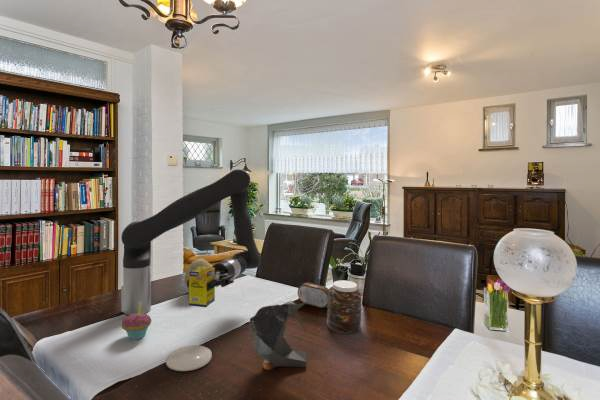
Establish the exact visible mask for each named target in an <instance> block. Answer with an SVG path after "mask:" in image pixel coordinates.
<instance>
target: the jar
mask: <svg viewBox="0 0 600 400" xmlns="http://www.w3.org/2000/svg"><path fill="white" fill-rule="evenodd" d="M328 289H329V291H328V306H327V307H326V308H327V310H326V313H327V314H326V316H327V317H326V326H327V328H328V329H329V330H330V331H332V332H334V333H338V334H342V335H352V334H356V333H359V332H360V331H361V329H362V325H361V324H362V301H363V300H362V299H363V297H362V291H361V289H359V288H358V284H357V283H356V282H354V281H351V280H345V279H344V280H343V279H342V280H335V281H334V282H333V283H332V286H330V287H329V288H328Z"/></svg>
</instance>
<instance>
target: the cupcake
mask: <svg viewBox="0 0 600 400" xmlns="http://www.w3.org/2000/svg"><path fill="white" fill-rule="evenodd" d="M141 301H142V300H141ZM141 306H142V302H140V304H139V312H138V313H135V314H131V315H127V316H126V317H124V318H123V320H122V322H121V323H120V327H121V329H123V330H124V331H126V334H127V336H128V339H130V340H135V341H136V340H140V339H142V338H144V337H146V335H147V331H148V328H149V327H150V325H151V323H152V319H151V316H150V315H148V314H147V313H141Z"/></svg>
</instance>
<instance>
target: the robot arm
mask: <svg viewBox="0 0 600 400" xmlns="http://www.w3.org/2000/svg"><path fill="white" fill-rule="evenodd" d="M250 184H251V176H250V174H249V173H248V172H247V171H246V170H244V169H240V168H236V169H233V170H231V171H230V172H228V173H227V174H225V175H224V176H222V177H221V178H218V180H216V181H215V182H213V183H211V184H209V185H206V186H203V187H201V188H198V189H196V190H194V191H192V192H189V193H188V194H186V195H184V196H181V197H180V198H177V199H176V200H175V201H173V202H172V203H170V204H168V205H167V206H166V207H164V208H162V210H161V211H159V212H157V213H156V214H154V215H151V216H150V217H148V218H146V219H143V220H140V221H133V222H130V223H129V224H128V225H127V226H126V227H124V229H123V230H122V232H121V242H122V245H123V258H122V276H123V278H122V279H123V280H122V281H123V283H122V284H123V285H121V287H120V290H121V291H120V295H121V297H120V298H121V301H120V303H121V312H122V313H124V315H127V316H129V315H131V314H135V313H138V312H139V304H140V302H142V306H141V313H144V314H147V313H148V312H150V311H151V309H152V284H151V283H152V281H151V278H152V274H151V271H152V269H151V268H152V267H151V266H152V265H151V260H152V259H151V257H152V242H153V241H154V240H155V239H157V238H158V237H160V236H162V235H164V234H165V233H166V232H168V231H170V230H173V229H176V228H178V227H180V226H182V225H184V224H186V223H188V222H190V221H193V219H195V218H198V217H200V216H202V215H203V214H204V213H206V212H208V211H209V210H211V209H212V208H213V207H214V206H215V205H217V204H218V203H219V202H221V201H223V200H225V199H227V198H230V201H231V207H232V216H233V226H234V236H235V243H236V245H237V246H240V247H244V248H246V250H244V251H239V252H236V253H234V255H233V256H232V257H231V256H230V258H225V259H223V260H221V261H219V262H216V263H214V264H213V265H211V266H212V267H213V268H215V280H214V279H213V280H211V281H209V282H208V283H207V290H210V289H212V288H214V287H215V288H218V287H219V286H220V287H221V288H225V287H227V286H228V285H231V284H233V283H235V281H234V280H235V278H237V277H238V276H239V275H241V274H243V273H244V272H245V271H246V270H250V269H251V270H252V269H257V268H258V267H260V265H261V262H262V261H261V260H262V258H261V254H260V252H259V250H258V247H257V245H256V242H255V238H254V230H253V223H252V218H251V215H250V210H249V206H248V188H249V187H250ZM187 287H189V280H187V286H186V288H187ZM141 300H142V301H141Z"/></svg>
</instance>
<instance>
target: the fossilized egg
mask: <svg viewBox="0 0 600 400" xmlns="http://www.w3.org/2000/svg"><path fill="white" fill-rule="evenodd" d="M198 266H201V267H212V266H213V265H212V264H211V263H210V262H208V260H206V259H204V258H198V259H195V260H194V261H192V262H191V263H190V264H189V265H188V267H187V269H186V270H185V273H184V284H185V286H186V288H187V289H188V290H189V287H187V280H189V271H190V270H193V269H195V268H197V267H198Z"/></svg>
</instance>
